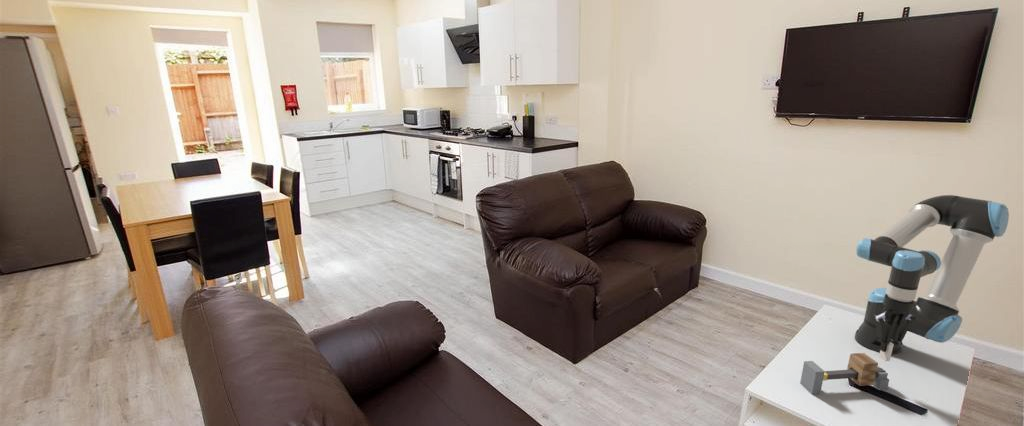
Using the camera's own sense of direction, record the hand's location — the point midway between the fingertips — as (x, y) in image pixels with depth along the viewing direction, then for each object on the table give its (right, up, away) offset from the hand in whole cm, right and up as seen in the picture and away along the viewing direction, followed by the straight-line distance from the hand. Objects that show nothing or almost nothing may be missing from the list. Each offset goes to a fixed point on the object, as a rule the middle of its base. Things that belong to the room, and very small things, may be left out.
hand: (884, 358), depth 158 cm
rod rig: (-12, -10, +3) cm, 16 cm away
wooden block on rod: (-7, -8, +2) cm, 11 cm away
